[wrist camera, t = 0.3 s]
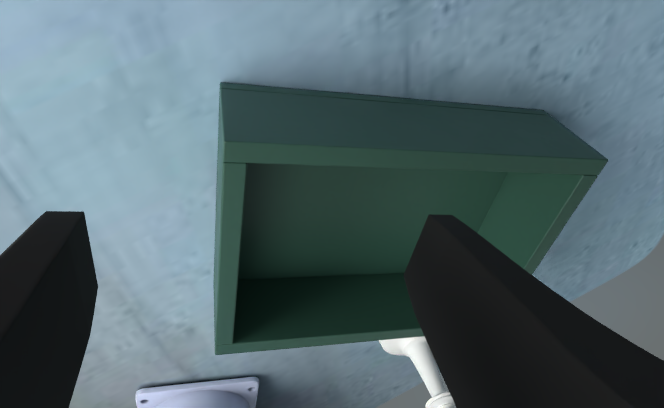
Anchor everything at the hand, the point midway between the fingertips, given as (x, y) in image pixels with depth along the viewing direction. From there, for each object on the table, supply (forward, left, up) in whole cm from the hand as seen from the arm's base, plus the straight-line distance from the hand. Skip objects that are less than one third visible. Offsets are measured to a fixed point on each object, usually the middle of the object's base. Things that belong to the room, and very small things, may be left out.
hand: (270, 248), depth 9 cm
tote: (-6, -7, -10) cm, 14 cm away
